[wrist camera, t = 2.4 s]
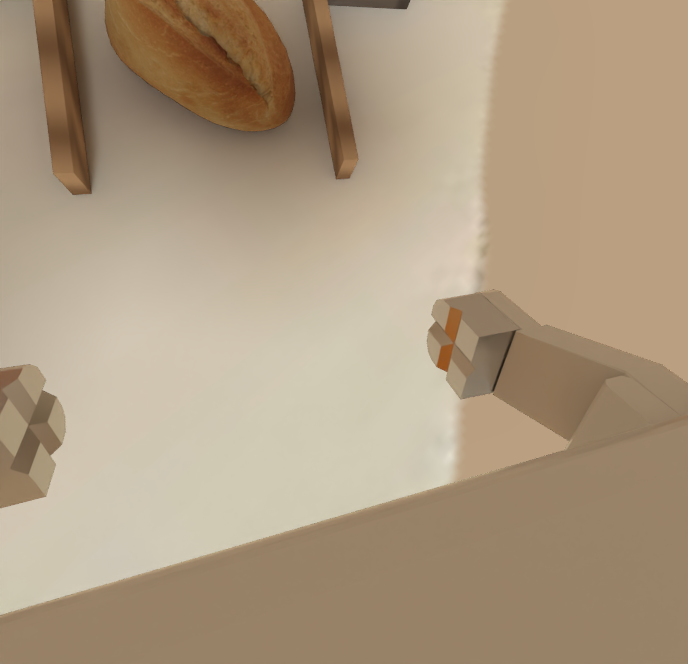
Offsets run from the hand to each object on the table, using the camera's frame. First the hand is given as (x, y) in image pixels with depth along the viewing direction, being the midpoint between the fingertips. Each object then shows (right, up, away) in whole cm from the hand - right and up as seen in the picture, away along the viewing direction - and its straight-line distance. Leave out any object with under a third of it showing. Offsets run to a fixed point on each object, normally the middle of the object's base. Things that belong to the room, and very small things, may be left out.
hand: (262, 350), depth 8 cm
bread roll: (-10, +21, +24) cm, 34 cm away
